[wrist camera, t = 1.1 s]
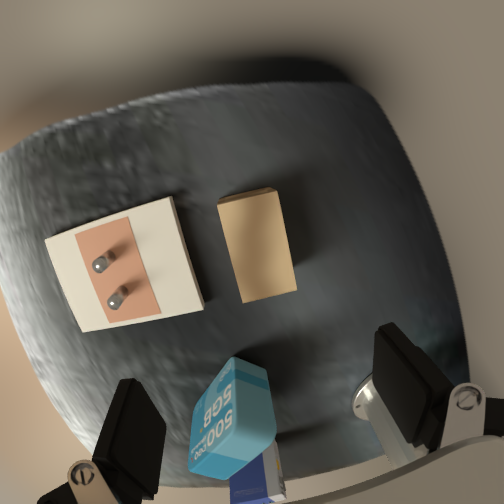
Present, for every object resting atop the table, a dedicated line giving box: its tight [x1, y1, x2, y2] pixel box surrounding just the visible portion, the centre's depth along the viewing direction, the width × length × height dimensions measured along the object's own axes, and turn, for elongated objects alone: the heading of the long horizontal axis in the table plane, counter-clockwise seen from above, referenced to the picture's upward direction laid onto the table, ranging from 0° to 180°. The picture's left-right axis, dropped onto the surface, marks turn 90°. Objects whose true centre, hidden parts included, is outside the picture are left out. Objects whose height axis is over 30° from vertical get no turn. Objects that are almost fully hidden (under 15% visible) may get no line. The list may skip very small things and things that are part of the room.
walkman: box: [229, 439, 287, 504], centre depth 34 cm, size 8×3×12 cm, turn 115°
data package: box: [188, 357, 277, 480], centre depth 29 cm, size 12×4×12 cm, turn 149°
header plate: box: [45, 196, 204, 332], centre depth 28 cm, size 16×12×2 cm
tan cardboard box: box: [217, 187, 297, 303], centre depth 27 cm, size 5×9×5 cm, turn 13°
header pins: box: [92, 250, 129, 310], centre depth 26 cm, size 1×5×3 cm, turn 13°
